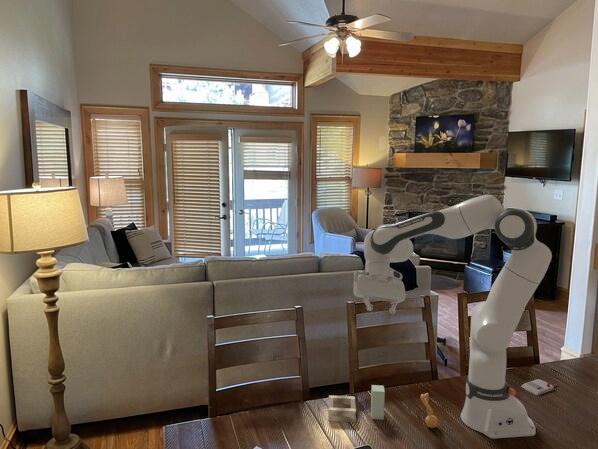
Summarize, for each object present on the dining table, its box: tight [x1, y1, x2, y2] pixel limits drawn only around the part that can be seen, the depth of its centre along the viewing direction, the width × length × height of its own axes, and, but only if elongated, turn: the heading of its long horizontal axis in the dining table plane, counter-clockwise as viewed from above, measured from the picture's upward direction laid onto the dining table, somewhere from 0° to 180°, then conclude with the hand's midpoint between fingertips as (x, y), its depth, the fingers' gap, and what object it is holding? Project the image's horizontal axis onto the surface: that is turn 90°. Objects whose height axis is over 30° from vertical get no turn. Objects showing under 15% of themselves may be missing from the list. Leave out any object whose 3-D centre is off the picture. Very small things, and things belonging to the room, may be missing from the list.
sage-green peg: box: [370, 384, 386, 421], centre depth 149 cm, size 4×4×10 cm
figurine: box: [419, 392, 439, 429], centre depth 142 cm, size 8×6×12 cm
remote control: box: [520, 378, 558, 396], centre depth 168 cm, size 7×16×3 cm, turn 116°
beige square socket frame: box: [327, 394, 357, 423], centre depth 150 cm, size 9×9×4 cm
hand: (381, 311), depth 153 cm, fingers open, 8 cm apart
